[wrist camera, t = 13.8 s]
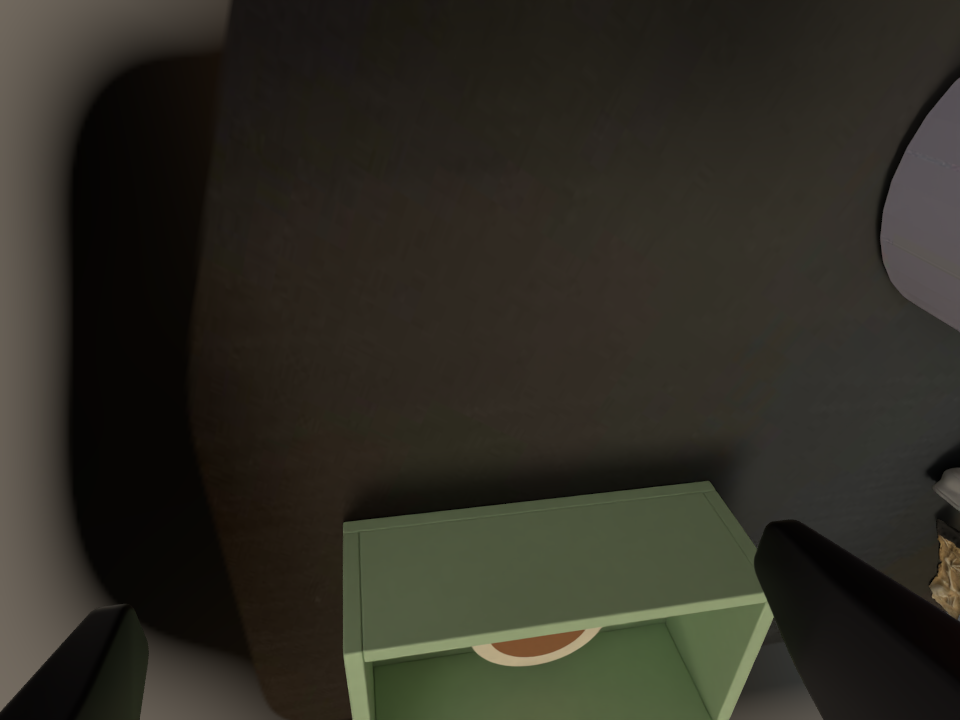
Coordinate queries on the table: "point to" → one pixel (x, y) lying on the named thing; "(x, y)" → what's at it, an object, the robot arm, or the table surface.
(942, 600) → the fossil
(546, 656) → the brown-topped cream cylinder
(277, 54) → the table surface
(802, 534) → the robot arm
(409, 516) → the tub
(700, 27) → the table surface
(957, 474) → the figurine
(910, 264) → the container
